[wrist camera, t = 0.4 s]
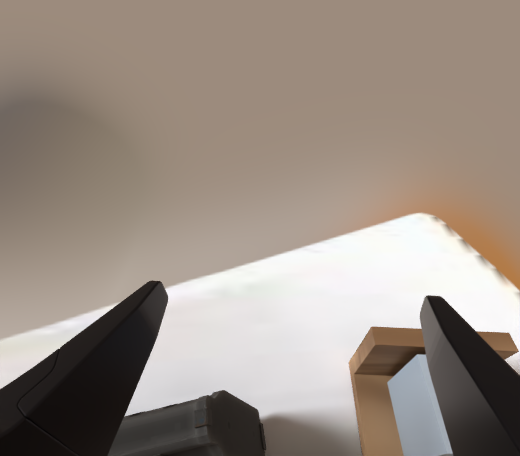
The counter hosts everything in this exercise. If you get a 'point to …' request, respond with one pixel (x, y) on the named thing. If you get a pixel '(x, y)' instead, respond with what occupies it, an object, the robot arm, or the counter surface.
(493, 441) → the robot arm
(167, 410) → the magazine
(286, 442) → the counter surface
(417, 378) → the pale blue block
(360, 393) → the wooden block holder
